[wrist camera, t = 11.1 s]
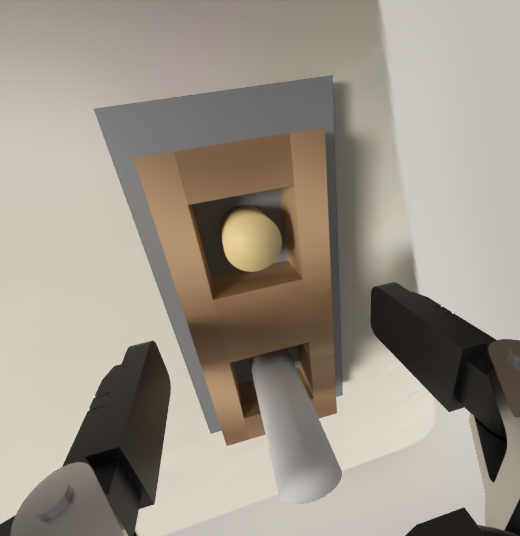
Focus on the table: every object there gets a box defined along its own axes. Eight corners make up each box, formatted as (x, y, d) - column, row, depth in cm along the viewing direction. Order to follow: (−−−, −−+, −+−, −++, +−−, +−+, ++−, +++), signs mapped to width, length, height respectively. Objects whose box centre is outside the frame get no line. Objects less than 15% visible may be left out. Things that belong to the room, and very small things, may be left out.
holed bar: (320, 382, 15) (336, 413, 13) (224, 409, 14) (227, 445, 12) (302, 133, 10) (324, 127, 8) (147, 158, 9) (133, 157, 7)
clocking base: (210, 417, 16) (214, 593, 9) (104, 113, 9) (-123, 12, 3) (335, 382, 17) (415, 519, 10) (320, 82, 10) (520, -46, 4)
